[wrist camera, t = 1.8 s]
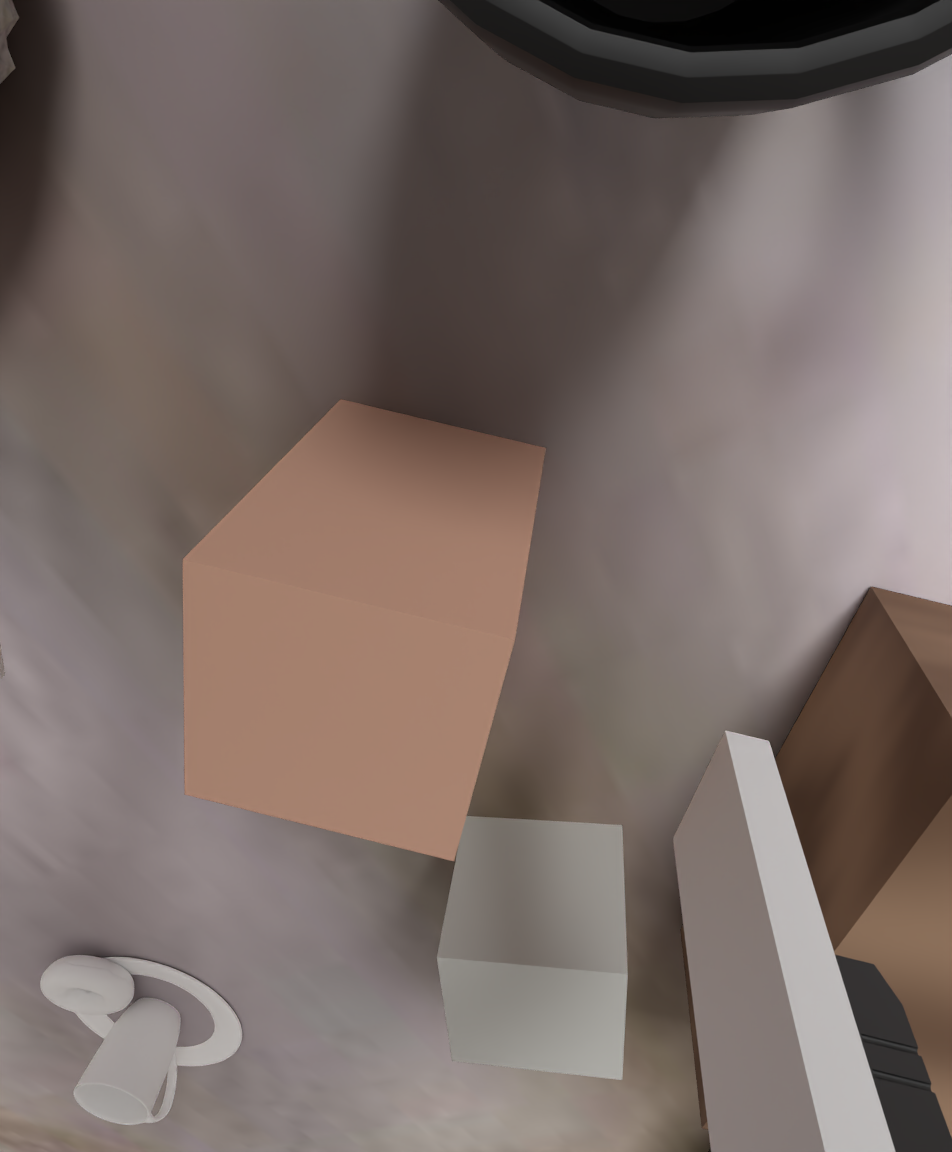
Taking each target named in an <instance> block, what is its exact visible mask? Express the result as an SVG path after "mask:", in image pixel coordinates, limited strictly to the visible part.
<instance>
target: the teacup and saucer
mask: <svg viewBox="0 0 952 1152" xmlns="http://www.w3.org/2000/svg"><path fill="white" fill-rule="evenodd" d="M130 974H132V975H143V976H149V977H153V978H157V979H161V980H164V981H166V982H169V983H171V984H174V985H176V986H178V987H180V988H182V989H184V990H185V991H187V992H189V993H190V994H192V995H193V996H194V997H196V998H197V999H198V1000H199V1001H200V1002H202V1003H203V1004H204V1005H205V1007H206V1008H207V1009H208V1010H209V1012H210V1013H211V1015H212V1017H213V1020H214V1024H215V1029H214V1033H213V1035H212V1036H211V1037H210V1038H209V1039H208V1040H207V1041H206V1042H204V1043H202V1044H199V1045H195V1046H189V1047H176V1045H177V1041H178V1037H179V1032H180V1024H181V1018H180V1014H179V1012H178V1011H177V1010H176V1009H175V1008H174V1007H173V1006H172V1005H170V1004H169V1003H167V1002H165V1001H162V1000H159V999H156V998H141V999H138V1000H137V1001H136V1002H134V1003H133V1004H132V1005H131V1006H130V1007H129V1008H128V1009H127V1010H126V1011H125V1012H124V1013H123V1014H122V1015H121V1016H120V1018H119V1019H118V1020H117V1022H116V1023H114V1022H113V1021H112V1020H111V1019H110V1018H109V1017H108V1016H107V1015H106V1014H112V1013H116V1012H118V1011H121V1010H123V1009H124V1008H125V1007H127V1006H128V1005H129V1003H130V1002H131V1000H132V998H133V996H134V980H133V978H132V976H131V975H130ZM40 987H41V991H42V993H43V994H44V995H45V997H46V998H47V999H48V1000H49V1001H51V1002H52V1003H53V1004H55V1005H57V1006H59V1007H61V1008H63V1009H65V1010H68V1011H71V1012H75V1014H76V1015H77V1016H78V1017H79V1019H80V1020H81V1021H82V1022H83V1023H84V1024H85V1025H86V1026H87V1027H88V1028H90V1029H91V1030H92V1031H93V1032H95V1033H96V1034H97V1035H99V1036H100V1037H101V1038H103V1039H104V1041H103V1042H102V1044H101V1045H100V1047H99V1049H98V1050H97V1052H96V1053H95V1055H94V1057H93V1058H92V1060H91V1062H90V1063H89V1065H88V1067H87V1068H86V1070H85V1071H84V1073H83V1075H82V1076H81V1078H80V1080H79V1081H78V1083H77V1085H76V1087H75V1089H74V1092H73V1094H74V1098H75V1100H76V1101H77V1103H78V1104H79V1105H80V1106H81V1107H82V1108H83V1109H85V1110H86V1111H88V1112H89V1113H91V1114H93V1115H94V1116H96V1117H98V1118H101V1119H103V1120H106V1121H109V1122H112V1123H117V1124H123V1125H137V1124H141V1123H143V1122H145V1123H155V1122H158V1121H160V1120H162V1119H163V1118H164V1117H166V1116H167V1114H168V1113H169V1111H170V1109H171V1107H172V1104H173V1100H174V1096H175V1090H176V1083H177V1065H178V1066H205V1065H211V1064H215V1063H218V1062H221V1061H223V1060H225V1059H227V1058H229V1057H230V1056H232V1055H233V1054H234V1053H235V1052H236V1051H237V1049H238V1048H239V1046H240V1044H241V1041H242V1028H241V1024H240V1021H239V1019H238V1017H237V1015H236V1014H235V1012H234V1011H233V1009H232V1008H231V1007H230V1006H229V1004H228V1003H227V1002H226V1001H225V1000H224V999H223V998H222V997H221V996H219V995H218V994H217V993H216V992H215V991H213V990H212V989H211V988H209V987H208V986H206V985H205V984H203V983H202V982H200V981H199V980H197V979H195V978H193V977H191V976H189V975H187V974H185V973H183V972H181V971H179V970H176V969H174V968H171V967H168V966H166V965H162V964H159V963H156V962H152V961H148V960H143V959H137V958H130V957H104V958H100V957H95V956H89V955H72V956H66V957H63V958H60V959H58V960H56V961H55V962H53V963H52V964H51V965H50V966H49V967H48V968H47V969H46V970H45V971H44V973H43V974H42V977H41V981H40ZM166 1074H167V1084H166V1090H165V1095H164V1099H163V1103H162V1106H161V1108H160V1110H159V1112H158V1113H157V1115H156V1116H153V1115H152V1113H151V1111H152V1109H153V1107H154V1104H155V1102H156V1099H157V1097H158V1094H159V1092H160V1089H161V1087H162V1084H163V1082H164V1079H165V1077H166Z"/></svg>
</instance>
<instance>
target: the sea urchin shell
mask: <svg viewBox="0 0 952 1152" xmlns="http://www.w3.org/2000/svg"><path fill="white" fill-rule="evenodd" d="M18 19H19V16H18V14H17V11H16V9H15V6H14V4H13V2H12V0H0V84H1V83H2V81H3V80H4V79H5V78H6V77H7V76H8V75H9V74H10V73H11V72H12V71H13V70H14V69H15V66H14V63H13V60H12V58H11V55H10V53H9V50H8V46H7V40H6V37H7V36H8V34H9V33H10V31H11V30H12V28H13V27H14V25H15V23H16V22H17V20H18Z"/></svg>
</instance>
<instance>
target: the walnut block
mask: <svg viewBox="0 0 952 1152" xmlns="http://www.w3.org/2000/svg"><path fill="white" fill-rule="evenodd" d="M775 762H776V765H777V768H778V772H779V775H780V778H781V781H782V785H783V788H784V791H785V794H786V798H787V801H788V804H789V807H790V811H791V814H792V817H793V820H794V824H795V827H796V830H797V833H798V837H799V840H800V843H801V846H802V850H803V853H804V856H805V859H806V863H807V866H808V869H809V872H810V876H811V879H812V882H813V885H814V889H815V892H816V895H817V898H818V902H819V905H820V908H821V911H822V915H823V918H824V921H825V924H826V928H827V931H828V934H829V937H830V941H831V944H832V947H833V950H834V954H835V955H839V956H843V957H847V958H851V959H855V960H859V961H863V962H867V963H871V964H874V965H875V966H876V968H877V969H878V971H879V972H880V973H881V975H882V976H883V978H884V979H885V981H886V982H887V983H888V985H889V986H890V988H891V989H892V990H893V992H894V993H895V995H896V996H897V998H898V999H899V1000H900V1002H901V1003H902V1005H903V1007H904V1010H905V1013H906V1016H907V1018H908V1021H909V1024H910V1026H911V1029H912V1032H913V1035H914V1037H915V1040H916V1043H917V1045H918V1050H917V1052H918V1055H919V1056H922V1059H923V1062H924V1064H925V1067H926V1070H927V1072H928V1075H929V1078H930V1081H931V1083H932V1084H931V1091H932V1092H934V1093H935V1094H936V1097H937V1100H938V1102H939V1105H940V1108H941V1110H942V1113H943V1116H944V1118H945V1121H946V1124H947V1127H948V1129H949V1132H950V1135H951V1137H952V606H950V605H946V604H942V603H938V602H934V601H929V600H925V599H921V598H917V597H913V596H909V595H904V594H900V593H896V592H892V591H888V590H884V589H879V588H875V587H870V589H869V591H868V593H867V594H866V596H865V598H864V600H863V602H862V603H861V605H860V607H859V609H858V611H857V612H856V614H855V616H854V618H853V620H852V621H851V623H850V625H849V627H848V629H847V630H846V632H845V634H844V636H843V638H842V639H841V641H840V643H839V645H838V647H837V648H836V650H835V652H834V654H833V656H832V657H831V659H830V661H829V663H828V665H827V666H826V668H825V670H824V672H823V674H822V675H821V677H820V679H819V681H818V683H817V684H816V686H815V688H814V690H813V692H812V693H811V695H810V697H809V699H808V701H807V702H806V704H805V706H804V708H803V710H802V711H801V713H800V715H799V717H798V719H797V720H796V722H795V724H794V726H793V728H792V729H791V731H790V733H789V735H788V737H787V738H786V740H785V742H784V744H783V746H782V747H781V749H780V751H779V753H778V755H777V756H776V758H775ZM680 930H681V939H682V948H683V958H684V967H685V976H686V986H687V995H688V1004H689V1014H690V1023H691V1032H692V1042H693V1051H694V1060H695V1070H696V1079H697V1088H698V1098H699V1107H700V1116H701V1126H702V1128H703V1129H707V1130H708V1122H707V1114H706V1105H705V1097H704V1089H703V1081H702V1073H701V1065H700V1056H699V1048H698V1040H697V1032H696V1024H695V1016H694V1007H693V999H692V991H691V983H690V975H689V967H688V958H687V950H686V942H685V934H684V926H682V927H681V929H680Z"/></svg>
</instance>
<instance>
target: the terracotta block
mask: <svg viewBox="0 0 952 1152" xmlns="http://www.w3.org/2000/svg"><path fill="white" fill-rule="evenodd" d="M545 450H546V448H544V447H540V446H536V445H531V444H527V443H523V442H519V441H515V440H510V439H506V438H502V437H498V436H493V435H489V434H485V433H481V432H477V431H472V430H468V429H464V428H460V427H456V426H451V425H447V424H443V423H439V422H435V421H430V420H426V419H422V418H418V417H414V416H409V415H405V414H401V413H397V412H393V411H388V410H384V409H380V408H376V407H372V406H367V405H363V404H359V403H355V402H351V401H346V400H342V399H340V400H339V401H338V402H337V403H336V404H335V405H334V406H333V407H332V408H331V409H330V411H329V412H328V413H327V414H326V415H325V416H324V417H323V418H322V419H321V420H320V421H319V422H318V423H317V424H316V425H315V426H314V427H313V428H312V429H311V430H310V431H309V432H308V433H307V434H306V435H305V436H304V437H303V438H302V439H301V440H300V441H299V442H298V443H297V444H296V445H295V446H294V447H293V448H292V449H291V450H290V451H289V452H288V453H287V454H286V455H285V456H284V457H283V458H282V459H281V460H280V461H279V462H278V463H277V464H276V465H275V466H274V467H273V468H272V469H271V470H270V471H269V472H268V473H267V474H266V475H265V476H264V477H263V478H262V479H261V480H260V481H259V482H258V483H257V484H256V485H255V486H254V487H253V488H252V490H251V491H250V492H249V493H248V494H247V495H246V496H245V497H244V498H243V499H242V500H241V501H240V502H239V503H238V504H237V505H236V506H235V507H234V508H233V509H232V510H231V511H230V512H229V513H228V514H227V515H226V516H225V517H224V518H223V519H222V520H221V521H220V522H219V523H218V524H217V525H216V526H215V527H214V528H213V529H212V530H211V531H210V532H209V533H208V534H207V535H206V536H205V537H204V538H203V539H202V540H201V541H200V542H199V543H198V544H197V545H196V546H195V547H194V548H193V549H192V550H191V551H190V552H189V553H188V554H187V555H186V556H185V557H184V558H183V658H184V779H185V795H189V796H193V797H197V798H201V799H205V800H209V801H213V802H217V803H221V804H225V805H229V806H233V807H237V808H241V809H245V810H249V811H253V812H257V813H261V814H265V815H269V816H273V817H277V818H281V819H285V820H289V821H293V822H298V823H302V824H306V825H310V826H314V827H318V828H322V829H326V830H330V831H334V832H338V833H342V834H346V835H350V836H354V837H358V838H362V839H366V840H370V841H374V842H378V843H382V844H386V845H390V846H394V847H398V848H402V849H406V850H410V851H414V852H418V853H422V854H426V855H430V856H434V857H438V858H442V859H446V860H450V861H454V859H455V856H456V852H457V849H458V845H459V841H460V838H461V834H462V830H463V827H464V823H465V820H466V816H467V812H468V809H469V805H470V801H471V798H472V794H473V790H474V787H475V783H476V780H477V776H478V772H479V769H480V765H481V761H482V758H483V754H484V751H485V747H486V743H487V740H488V736H489V732H490V729H491V725H492V722H493V718H494V714H495V711H496V707H497V703H498V700H499V696H500V692H501V689H502V685H503V682H504V678H505V674H506V671H507V667H508V663H509V660H510V656H511V653H512V649H513V645H514V642H515V637H516V631H517V624H518V618H519V612H520V606H521V599H522V593H523V587H524V581H525V575H526V568H527V562H528V556H529V550H530V544H531V537H532V531H533V525H534V519H535V512H536V506H537V500H538V494H539V488H540V481H541V475H542V469H543V463H544V457H545Z"/></svg>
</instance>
